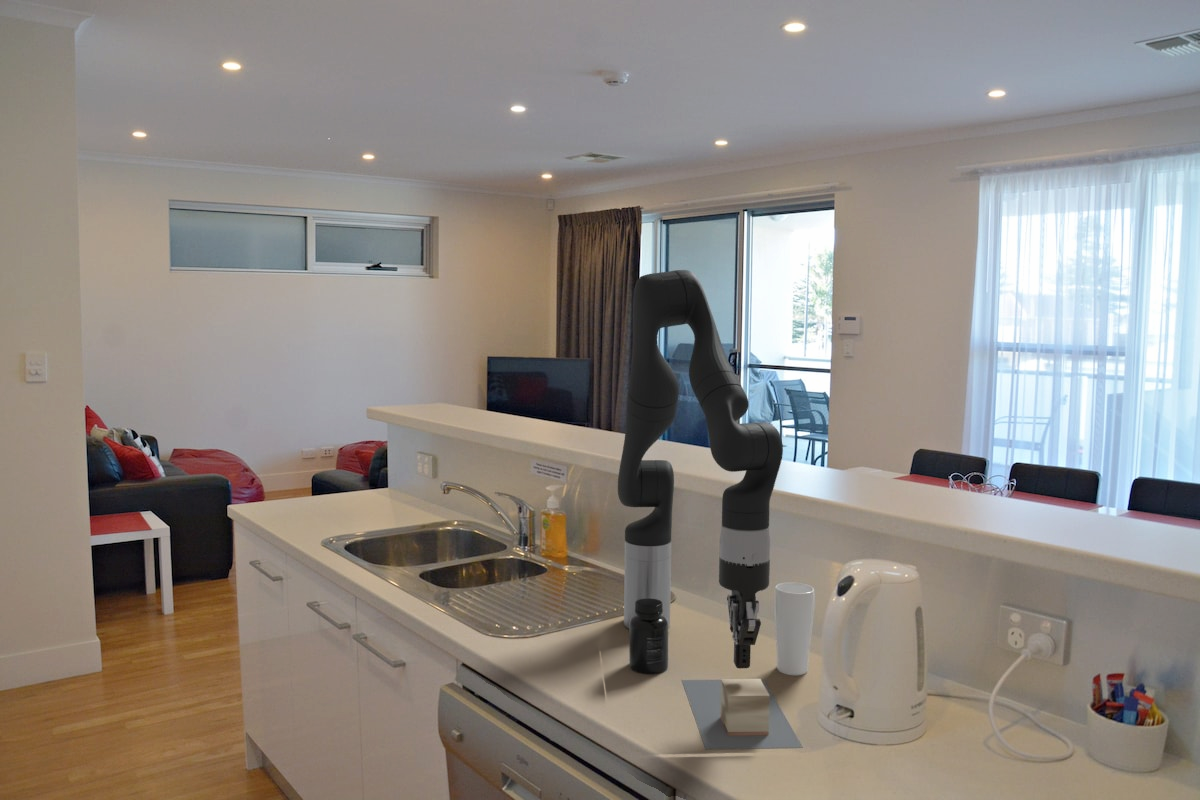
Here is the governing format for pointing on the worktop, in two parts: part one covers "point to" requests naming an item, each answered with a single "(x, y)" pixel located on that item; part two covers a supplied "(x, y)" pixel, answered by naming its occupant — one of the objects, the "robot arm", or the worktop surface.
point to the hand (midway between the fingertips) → (741, 666)
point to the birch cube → (745, 707)
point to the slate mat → (712, 729)
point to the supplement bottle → (648, 638)
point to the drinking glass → (793, 626)
